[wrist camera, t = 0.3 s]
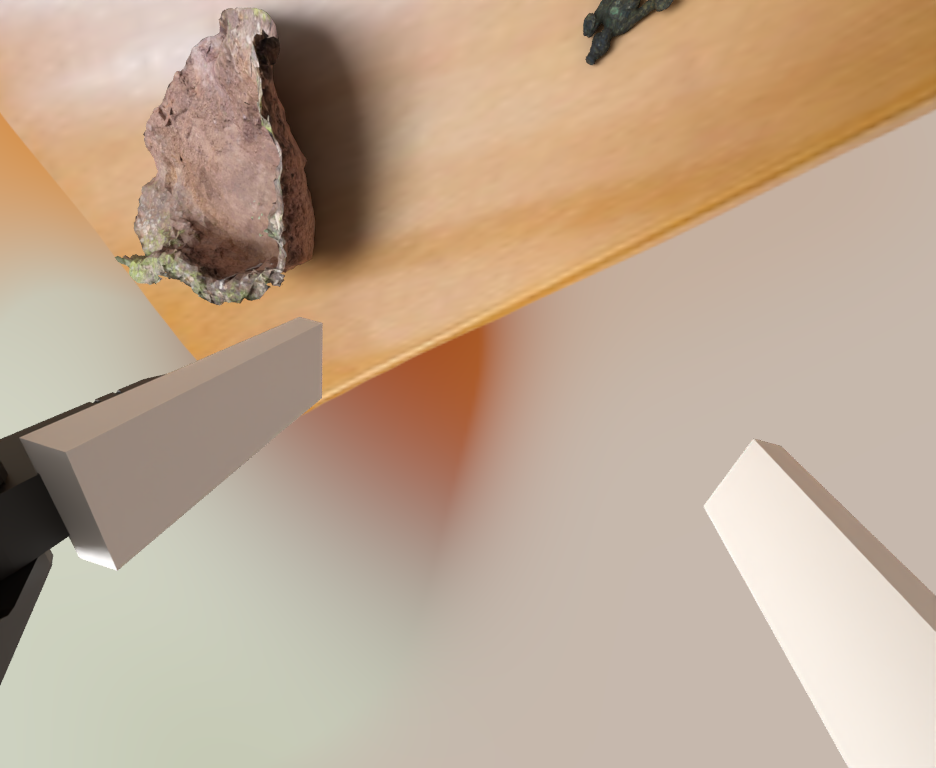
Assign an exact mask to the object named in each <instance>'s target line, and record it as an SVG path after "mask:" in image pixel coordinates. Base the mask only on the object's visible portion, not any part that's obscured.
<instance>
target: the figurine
mask: <svg viewBox="0 0 936 768" xmlns="http://www.w3.org/2000/svg"><path fill="white" fill-rule="evenodd" d="M640 1H641V0H602V1H601V2H600V5H599V6H598V8H597V10H596V11H595V13H594V14H593V13H589V14H588V15H587V17H586V18H585V20H584V24H583V32H584V33H583V35H584V36H587V37H592V36H593V34H594V33H595V31H596V30H597V29H598V27H599V26H600V24H603V25H604V30H602V32H600V33H597V34H596V35H595V36H594V37H593V40H592V46H591V48H590V53H589V54H588V56H587V57H586V62H587V63H588V64H590V65H593V64H595V61H596V60H597V59H599V58H600V57H601V56H603V55H604V54H605V53H606V52H607V51H608V49H609V47H610V40H611V38H612V37H615V36H618V35H621V34H624V33H625V32H627V31H628V30H629V29H631V28H632V27H633V26H634V24H635V23H637V22H638V21H639V20H641V19H642V18H643V17H644V16H646V15H648V14H649V13H650V12H651V11H653V10H655V9H656V11H657V12H658V11H662V10H664V9H667V8H668V7H669V6H670V5H671V3H672V2H673V0H648V1H647V2H645V3H644V4H643V5H642V6H641V7H640V8H638V6H639V4H640Z"/></svg>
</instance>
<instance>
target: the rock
mask: <svg viewBox="0 0 936 768" xmlns="http://www.w3.org/2000/svg"><path fill="white" fill-rule="evenodd" d="M219 23H220V33H219V34H217V35H216V36H210V37H206V38H204V39H202V40H201V41H200V42H199V43H198V44H197V45H196V46H195V47H193V49H192V50H191V54H190V56H189V58H188V59H187V61H186V65H185V67H184V69H183V70H182V71H181V72H180V71H177V72H176V73H175V75H174V78H173V81H172V82H171V83H170V84H169V86H168V88H167V91H166V94H165V97H164V100H163V102H162V104H161V105H160V106H159V107H157V108H155V109H154V111H153V114H152V115H151V117H150V119H149V120H148V122H147V125H146V131H145V133H144V134H143V135H144V136H145V138H144V141H145V145H146V147H147V149H148V150H149V151H150V153H151V154H152V156H153V158H154V160H155V164H156V167H157V170H158V173H157V175H156V177H154V178H153V179H152V180H151V181H150V182H149V183H147V184H146V185H144V186H143V187H142V195H141V196H140V198H139V203H140V205H139V207H138V215H137V216H136V221H135V222H134V230H135V233H136V234H137V235H138V237H139V240H140V242H141V245H142V249H143V251H144V253H145V256H138V255H136V254H135V255H133V256H131V258H129V257H127V256H126V255H125V256H124V257H123V258H121V257H119V256H117V257H115V258H116V260H117V261H118V262H120V263H121V264H125V265H127V266H128V267H129V268H130V270H129V274H130V276H131V277H132V279H133V280H134V281H136V282H137V283H147V284H149V285H151V284H153V283H155V284H156V283H158V282H159V281H160V280H161V279H162V278H160V277H159V276H158V275H161V276H165V277H169V279H171V278H172V279H177V280H180V281H181V282H184V283H185V284H186V285H188V286H190V287H191V288H192V290H193V292H195V293H196V294H198V295H199V297H201V298H203V299H205V300H207V301H209V302H210V303H213V304H216V305H221V304H223V302H228V303H229V302H236V303H241V302H242V300H243V299H244V298H246V299H247V300H251V301H252V300H256V299H260V298H261V297H262V296H263V294H264V293H265V292H266V291H267V290H268V289H269V288H270V286H267V285H266V284H267V283H272V285H274V286H279V287H280V285H281V283H282V282H283V281H284V279H283V278H284V277H285V276H284V275H282V274H280V273H282V272H285V273H286V271H288V270H290V269H293V268H294V267H295V266H296V265H301V264H303V263H305V262H307V261H309V260H311V259H312V255H313V248H314V232H315V217H314V212H313V207H312V200H311V193H310V191H309V189H308V188H307V181H306V174H305V172H304V167H305V164H306V162H307V159H306V158H305V156H304V155H303V154H302V152H301V151H300V149H299V147H298V145H297V143H296V141H295V139H294V137H293V136H292V134H291V132H290V127H289V125H288V123H287V122H286V120H285V119H286V116H285V110H284V108H283V106H282V104H281V102H280V100H279V99H278V96H277V93H276V90H275V86H274V82H273V71H272V67H273V64H275V63H276V60H277V57H278V54H279V51H280V48H279V40H278V34H277V31H276V25H275V23H274V21H273V20H272V19H271V17H270V16H269V15H268V13H267V12H265V11H263V10H259V9H257V8H235V9H232V8H230V9H226V10H224V11H223V12H222V14H221V18H220V19H219ZM165 272H166V273H165ZM282 285H283V284H282Z"/></svg>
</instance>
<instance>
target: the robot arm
mask: <svg viewBox="0 0 936 768" xmlns="http://www.w3.org/2000/svg"><path fill="white" fill-rule="evenodd" d="M321 398H322V323H320V322H317V321H313V320H309V319H305V318H302V317H298V318H296V319H294V320H291V321H289V322H287V323H284V324H282V325H280V326H277V327H275V328H273V329H270V330H268V331H266V332H263V333H261V334H259V335H256V336H254V337H252V338H249V339H247V340H245V341H242V342H240V343H238V344H235V345H233V346H231V347H228V348H226V349H224V350H222V351H219V352H217V353H215V354H212V355H210V356H208V357H205V358H203V359H201V360H198V361H196V362H194V363H191V364H189V365H187V366H184V367H182V368H180V369H177V370H175V371H173V372H171V373H168V374H164V375H160V376H156V377H151V378H147V379H143V380H141V381H138V382H136V383H134V384H131V385H129V386H126V387H124V388H122V389H119V390H118V391H117V393H113V392H112V393H110V394H107V395H105V396H102V397H100V398H98V399H95V402H94V403H91V402H88V403H86V404H83V405H81V406H79V407H76V408H74V409H72V410H69V411H67V412H64V413H62V414H59V415H57V416H55V417H53V418H50V419H47V420H45V421H43V422H40V423H38V424H36V425H33V426H31V427H28V428H26V429H24V430H21V431H19V432H16V433H14V434H12V435H10V436H7V437H4V438H2V439H0V685H1V682H2V680H3V678H4V675H5V673H6V671H7V668H8V666H9V664H10V661H11V659H12V657H13V654H14V652H15V650H16V647H17V645H18V643H19V641H20V638H21V636H22V634H23V631H24V629H25V626H26V624H27V622H28V620H29V617H30V615H31V613H32V611H33V608H34V606H35V603H36V601H37V599H38V597H39V594H40V592H41V590H42V587H43V585H44V583H45V580H46V578H47V576H48V573H49V571H50V569H51V566H52V559H53V554H52V552H51V550H50V549H51V548H52V547H54V546H55V545H57V544H58V543H59V542H61V541H62V540H64V539H65V538H67V537H68V536H69V538H70V540H71V542H72V544H73V546H74V548H75V550H76V552H77V554H78V556H79V557H80V558H81V559H84V560H87V561H90V562H93V563H96V564H99V565H102V566H105V567H108V568H111V569H114V570H118V569H120V568H121V567H122V566H123V565H124V564H126V563H127V562H128V561H129V560H130V559H132V558H133V557H134V556H135V555H136V554H138V553H139V552H140V551H141V550H142V549H143V548H145V547H146V546H147V545H148V544H149V543H151V542H152V541H153V540H154V539H155V538H156V537H158V536H159V535H160V534H161V533H162V532H164V531H165V530H166V529H167V528H168V527H170V526H171V525H172V524H173V523H174V522H175V521H177V520H178V519H179V518H180V517H181V516H183V515H184V514H185V513H186V512H187V511H188V510H190V509H191V508H192V507H193V506H194V505H196V504H197V503H198V502H199V501H200V500H202V499H203V498H204V497H205V496H206V495H207V494H209V493H210V492H211V491H212V490H213V489H215V488H216V487H217V486H218V485H219V484H220V483H221V482H223V481H224V480H225V479H226V478H228V477H229V476H230V475H231V474H232V473H233V472H235V471H236V470H237V469H238V468H239V467H241V466H242V465H243V464H244V463H245V462H246V461H248V460H249V459H250V458H251V457H252V456H253V455H255V454H256V453H257V452H258V451H260V450H261V449H262V448H263V447H264V446H265V445H267V444H268V443H269V442H270V441H271V440H272V439H274V438H275V437H276V436H277V435H278V434H280V433H281V432H282V431H283V430H284V429H285V428H287V427H288V426H289V425H290V424H292V423H293V422H294V421H295V420H296V419H297V418H299V417H300V416H301V415H302V414H303V413H305V412H306V411H307V410H308V409H309V408H310V407H312V406H313V405H314V404H315V403H316V402H318V401H319V400H320V399H321ZM704 508H705V510H706V512H707V514H708V516H709V518H710V519H711V521H712V523H713V525H714V527H715V528H716V530H717V532H718V534H719V535H720V537H721V539H722V541H723V543H724V545H725V546H726V548H727V550H728V551H729V553H730V555H731V557H732V559H733V561H734V563H735V564H736V566H737V568H738V570H739V572H740V573H741V575H742V577H743V579H744V580H745V582H746V584H747V586H748V588H749V589H750V591H751V593H752V595H753V597H754V598H755V600H756V602H757V604H758V606H759V608H760V609H761V611H762V613H763V615H764V617H765V618H766V620H767V622H768V624H769V625H770V627H771V629H772V631H773V633H774V635H775V636H776V638H777V640H778V642H779V644H780V645H781V647H782V649H783V651H784V653H785V654H786V656H787V658H788V660H789V662H790V663H791V665H792V667H793V669H794V670H795V672H796V674H797V676H798V678H799V680H800V681H801V683H802V685H803V687H804V689H805V690H806V692H807V694H808V696H809V698H810V699H811V701H812V703H813V705H814V707H815V709H816V710H817V712H818V714H819V716H820V717H821V719H822V721H823V723H824V725H825V726H826V728H827V730H828V732H829V734H830V735H831V737H832V739H833V741H834V743H835V745H836V746H837V748H838V750H839V752H840V754H841V755H842V757H843V759H844V760H845V762H846V764H847V766H848V768H936V596H935V595H934V594H933V593H932V592H931V591H930V590H929V589H928V588H927V587H926V586H925V585H924V584H923V583H922V582H921V581H920V580H919V579H918V578H917V577H916V576H915V575H913V573H912V572H911V571H910V570H908V568H906V567H905V566H904V565H903V564H902V563H901V562H900V561H899V560H898V559H897V558H896V557H895V556H894V555H893V554H892V553H891V552H890V551H889V550H888V549H887V548H886V547H885V546H884V545H883V544H882V543H881V542H880V541H878V540H877V538H876V537H874V536H873V535H872V534H871V533H870V532H869V531H868V530H867V529H866V528H865V527H864V526H863V525H862V524H861V523H860V522H859V521H858V520H857V519H856V518H855V517H854V516H853V515H852V514H851V513H850V512H849V511H848V510H847V509H846V508H845V507H843V506H842V505H841V504H840V503H839V502H838V501H837V500H836V499H835V498H834V497H833V496H832V495H831V494H830V493H829V492H828V491H827V490H826V489H825V488H824V487H823V486H822V485H821V484H820V483H819V482H818V481H817V480H816V479H815V478H813V476H811V475H810V474H809V473H808V472H807V471H806V470H805V469H804V468H803V467H802V466H801V465H800V464H799V463H798V462H797V461H796V460H795V459H794V458H793V457H792V456H791V455H790V454H789V453H788V452H787V451H786V450H785V449H784V448H782V446H779V445H776V444H772V443H768V442H764V441H761V440H757V439H753V440H752V441H751V442H750V444H749V445H748V447H747V448H746V449H745V450H744V452H743V453H742V455H741V456H740V457H739V459H738V460H737V461H736V463H735V464H734V465H733V467H732V468H731V470H730V471H729V472H728V474H727V475H726V476H725V478H724V479H723V481H722V482H721V483H720V484H719V486H718V487H717V489H716V490H715V491H714V493H713V494H712V495H711V497H710V498H709V499H708V501H707V502H706V503H705V505H704Z"/></svg>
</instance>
